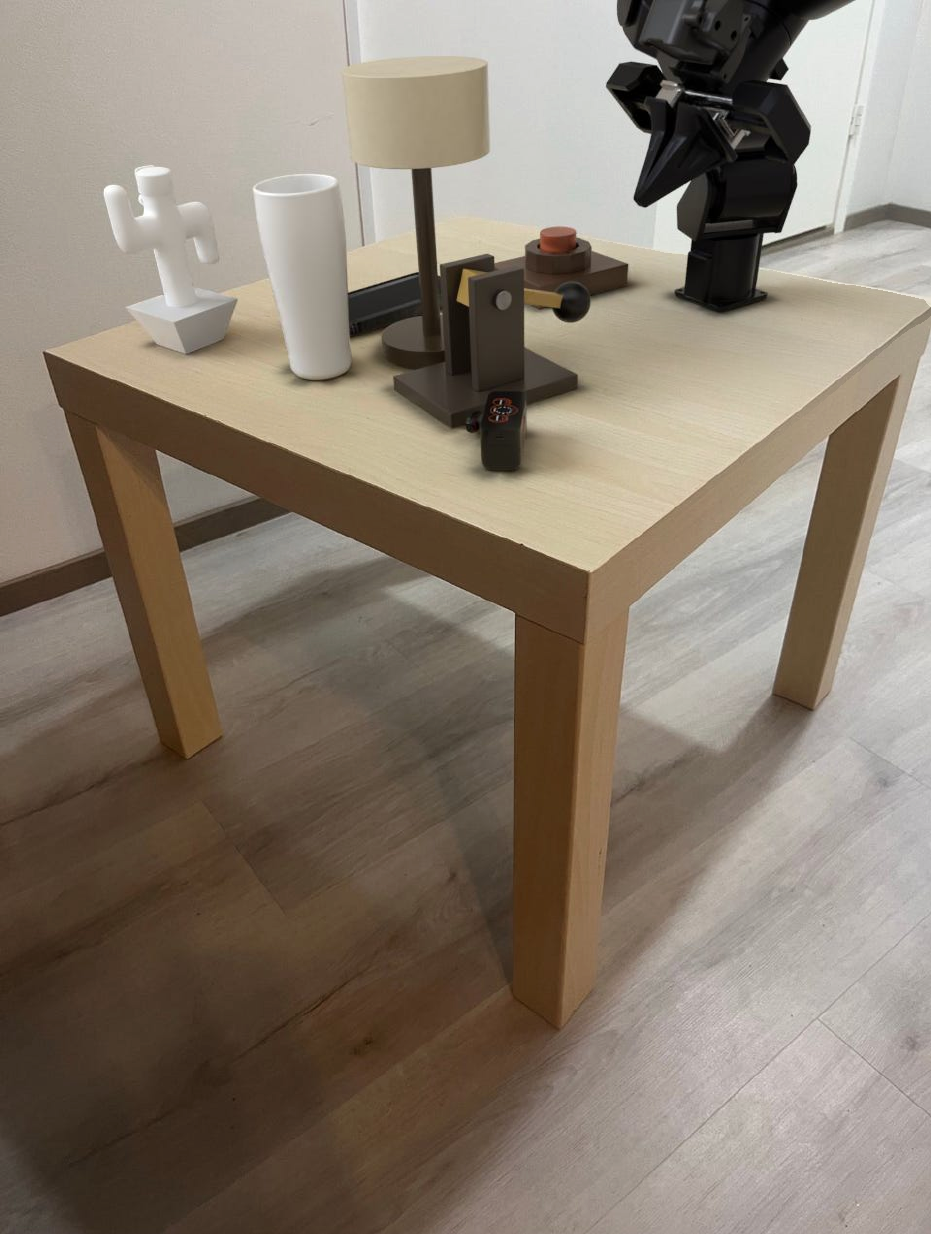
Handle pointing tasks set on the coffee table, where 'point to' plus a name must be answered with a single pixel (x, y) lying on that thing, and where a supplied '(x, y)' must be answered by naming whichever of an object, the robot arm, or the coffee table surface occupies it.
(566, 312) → the lever
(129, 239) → the figurine
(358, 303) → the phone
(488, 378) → the lamp switch
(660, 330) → the coffee table surface
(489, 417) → the wireless earbuds
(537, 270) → the switch box
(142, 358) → the coffee table surface
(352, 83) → the lamp
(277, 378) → the coffee table surface
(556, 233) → the button
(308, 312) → the drinking glass
